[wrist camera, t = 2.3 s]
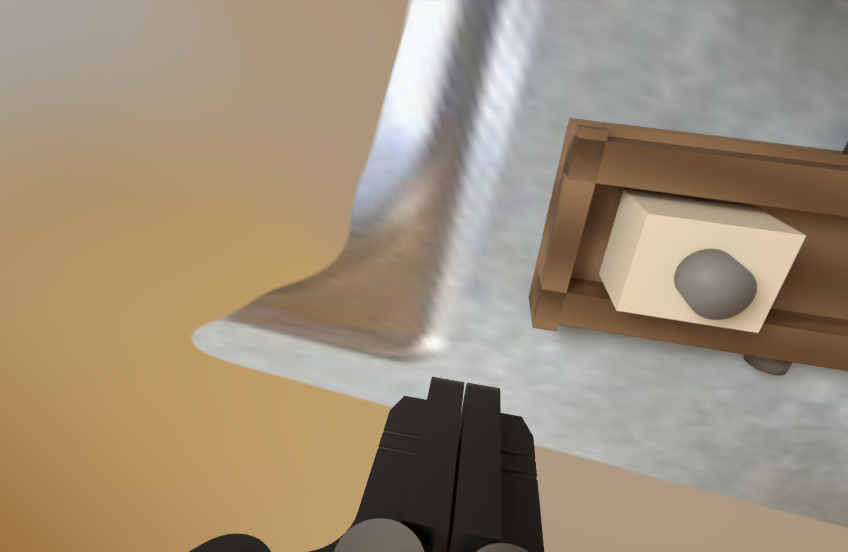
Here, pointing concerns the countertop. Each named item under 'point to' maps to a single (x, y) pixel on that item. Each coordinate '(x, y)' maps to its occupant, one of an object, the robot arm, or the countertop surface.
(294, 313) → the countertop surface
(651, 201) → the rider
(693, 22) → the countertop surface
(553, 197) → the wooden slider track
